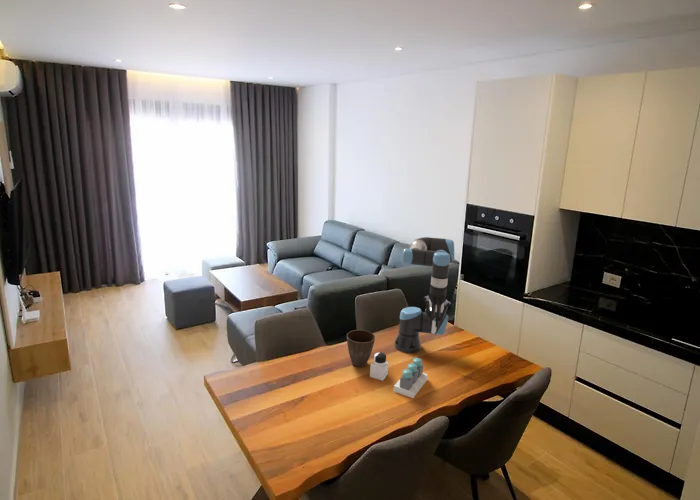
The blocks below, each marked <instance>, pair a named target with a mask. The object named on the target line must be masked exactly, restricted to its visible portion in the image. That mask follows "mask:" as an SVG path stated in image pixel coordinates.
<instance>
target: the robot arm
mask: <svg viewBox="0 0 700 500" xmlns="http://www.w3.org/2000/svg"><path fill="white" fill-rule="evenodd" d="M452 261H455V243H454V240H453V239H449V238H438V237H429V236H428V237H426V236H425V237H420V238H417V239H414V240H412V241H411V242H410V244H409V248H407V247H406V248H404V249H403V251H402V264H406V265H414V266H424V267H431V268H432V269H431V278H430V287H429V293H428V294H427V295H426V296H424V297H423V298H422V299H423V302H424V304H425V310H424V311H422V309H421V308H420V307H417V306H407V307H404V308H402V310H401V311H400V314H399V325H398V332H397V333H398V334H397V335H396V338H395V340H394V348H395V349H397V350H398V351H400V352H403V353H417V352H420V350H421V347H422V343H421V339H420V333H421V334H431V335H434V336H437V335H438V336H442V335H444V334H445V333H446V329H447V325H448V321H449V315H448V314H447V310H448V308H449V306H450V305H451V304H452V302H451V301H449V300H448V298H447V290H448V287H447V286H448V281H449V272H450V265H452Z"/></svg>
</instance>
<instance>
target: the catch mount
mask: <svg viewBox="0 0 700 500" xmlns="http://www.w3.org/2000/svg"><path fill="white" fill-rule="evenodd" d="M428 377H429V376H428V374H427V373H424V364H423V363H422V366H421V367H417V372H416V373H412V378H411V379H405V378H403V377H402V375H401V376H400V378H399V379H398V381H397V382H396V383H395V384H394V385H393V392H394V393H397V394H400V395H402V396H405V397H409V398H410V399H411V398H412V399H414V398H415V396H416V395H417V394H418V393H419V391H420V390H421V389H422V387H423V386H424V385H425V384H426V382H427V380H428Z"/></svg>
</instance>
